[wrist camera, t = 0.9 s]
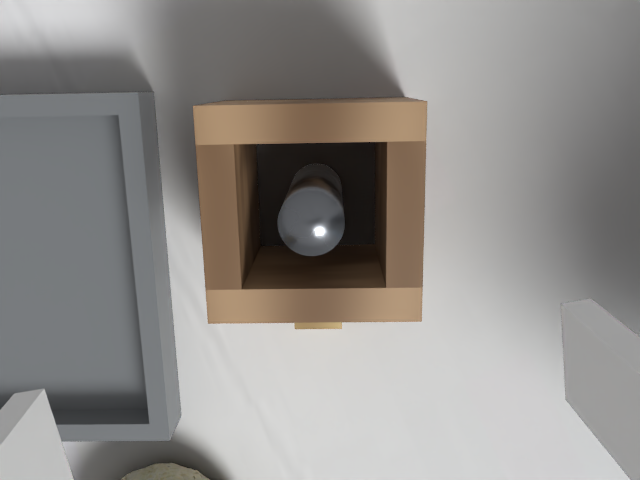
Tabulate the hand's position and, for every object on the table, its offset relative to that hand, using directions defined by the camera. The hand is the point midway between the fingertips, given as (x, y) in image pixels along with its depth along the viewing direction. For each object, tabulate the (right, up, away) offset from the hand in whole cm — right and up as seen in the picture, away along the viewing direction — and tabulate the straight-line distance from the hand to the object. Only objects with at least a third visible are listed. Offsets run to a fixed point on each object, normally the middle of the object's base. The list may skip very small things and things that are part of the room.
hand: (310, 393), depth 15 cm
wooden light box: (0, +5, +16) cm, 17 cm away
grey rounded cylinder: (0, +6, +16) cm, 17 cm away
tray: (-17, +2, +17) cm, 24 cm away
